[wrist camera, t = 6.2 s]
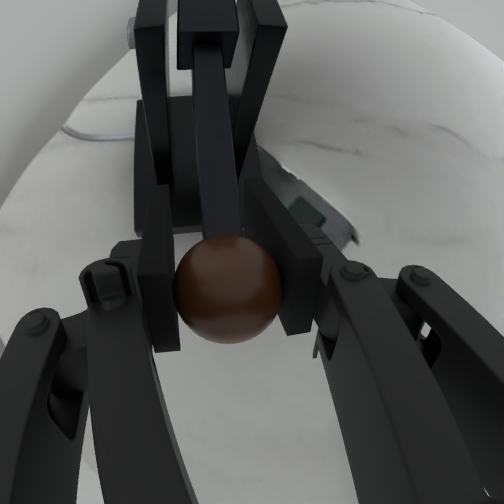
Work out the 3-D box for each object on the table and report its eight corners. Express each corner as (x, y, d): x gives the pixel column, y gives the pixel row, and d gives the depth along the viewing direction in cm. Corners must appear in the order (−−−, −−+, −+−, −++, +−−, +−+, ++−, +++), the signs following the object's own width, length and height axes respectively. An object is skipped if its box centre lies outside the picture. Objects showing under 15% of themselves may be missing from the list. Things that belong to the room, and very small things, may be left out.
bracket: (265, 226, 20) (355, 87, 8) (137, 238, 19) (70, 95, 7) (244, 103, 23) (285, -43, 11) (138, 109, 21) (120, -42, 9)
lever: (272, 328, 11) (304, 343, 8) (181, 340, 11) (178, 361, 7) (235, 31, 12) (248, -18, 9) (166, 33, 12) (165, -18, 9)
